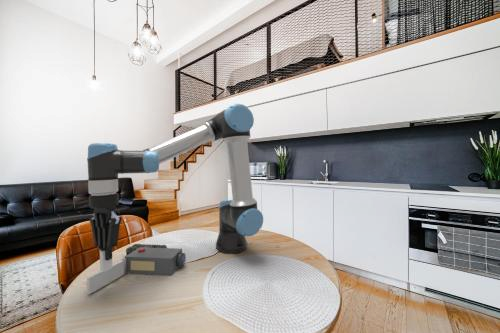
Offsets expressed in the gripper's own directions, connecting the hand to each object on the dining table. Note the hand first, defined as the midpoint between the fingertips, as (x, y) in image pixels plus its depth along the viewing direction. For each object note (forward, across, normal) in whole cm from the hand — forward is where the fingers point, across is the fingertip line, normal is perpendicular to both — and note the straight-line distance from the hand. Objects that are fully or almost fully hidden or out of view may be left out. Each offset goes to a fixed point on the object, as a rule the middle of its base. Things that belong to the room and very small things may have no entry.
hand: (106, 269), depth 63 cm
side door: (+7, +5, -3) cm, 9 cm away
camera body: (+8, -2, -17) cm, 19 cm away
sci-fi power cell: (+8, +12, -23) cm, 27 cm away
